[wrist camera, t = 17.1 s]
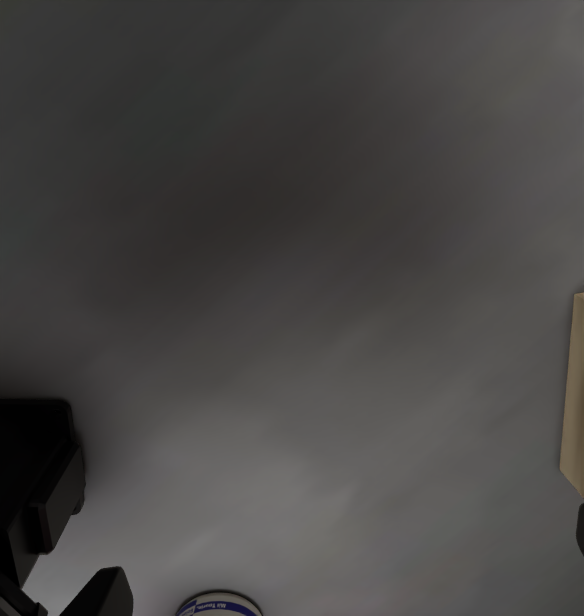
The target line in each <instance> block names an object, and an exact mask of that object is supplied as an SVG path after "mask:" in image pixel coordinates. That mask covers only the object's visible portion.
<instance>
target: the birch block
mask: <svg viewBox="0 0 584 616" xmlns="http://www.w3.org/2000/svg"><path fill="white" fill-rule="evenodd" d="M560 471H561V472H562V473H563V474H564V475H565V477H566V478H567V479H568V480H569V481H570V482H571V484H572V485H573V486H574V487H575V488H576V490H577V491H578V492H579V493H580V494H581V496H582V497H583V498H584V293H577V294H574V305H573V317H572V328H571V340H570V352H569V363H568V375H567V387H566V398H565V410H564V422H563V434H562V445H561V457H560Z"/></svg>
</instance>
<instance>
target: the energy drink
mask: <svg viewBox="0 0 584 616" xmlns="http://www.w3.org/2000/svg"><path fill="white" fill-rule="evenodd" d="M176 616H262V615H261V614H260V612H259V611H258V609H257V608H256V607H255V606H254V605H253V604H252V603H251V602H249V601H248V600H246V599H245V598H242V597H240V596H238V595H234V594H230V593H209V594H205V595H202V596H199V597H196V598H195V599H193V600H191V601H190V602H188V603H187V604H186V605H184V606H183V607H182V608H181V609H180V610H179V612H178V613H177V614H176Z"/></svg>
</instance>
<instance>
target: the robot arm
mask: <svg viewBox="0 0 584 616" xmlns="http://www.w3.org/2000/svg"><path fill="white" fill-rule="evenodd" d="M54 409H57V410H59V411H61V413H62V414H59V413H57V412H55V410H54ZM85 486H86V483H85V475H84V468H83V461H82V454H81V447H80V445H79V444H78V442H76V441H75V435H74V428H73V421H72V414H71V408H70V406H69V405H68V404H67V403H66V402H64V401H61V400H20V399H0V616H47V615H48V611H47V610H46V609H45V608H44V607H43V606H42V605H41V604H40V603H39V602H37V603H35V602H34V601H33V600H32V599H30V598H29V597H28V596H27V595H26V594H25V593H24V592H23V591H22V588H23V586H24V584H25V582H26V580H27V578H28V576H29V574H30V573H31V571H32V569H33V567H34V565H35V563H36V561H37V559H38V557H39V555H48V554H49V553H50V552H52V551H53V550H54V548H55V546H56V544H57V542H58V540H59V538H60V536H61V534H62V532H63V530H64V528H65V526H66V524H67V522H68V520H69V518H70V516H71V515H76V514H78V513H79V512H80V511H81V509H82V507H83V505H84V498H83V490H84V488H85ZM576 539H577V543H578V546H579V548H580V550H581V552H582V554H583V556H584V503H583V504H581V505H580V507H579V512H578V521H577V529H576ZM132 613H133V595H132V592H131V589H130V586H129V583H128V580H127V578H126V575H125V572H124V570H123V568H122V567H119V566H116V567H109V568H103V569H100V570H99V571H98V572H97V573H96V574H95V575H94V576H93V577H92V578H91V579H90V581H89V582H88V583H87V584H86V585H85V586H84V588H83V589H82V590H81V591H80V592H79V593H78V594H77V596H76V597H75V598H74V599H73V600H72V601H71V603H70V604H69V605H68V606H67V607H66V608H65V609H64V611H63V612H62V613H61V614H60V615H59V616H132Z"/></svg>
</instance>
